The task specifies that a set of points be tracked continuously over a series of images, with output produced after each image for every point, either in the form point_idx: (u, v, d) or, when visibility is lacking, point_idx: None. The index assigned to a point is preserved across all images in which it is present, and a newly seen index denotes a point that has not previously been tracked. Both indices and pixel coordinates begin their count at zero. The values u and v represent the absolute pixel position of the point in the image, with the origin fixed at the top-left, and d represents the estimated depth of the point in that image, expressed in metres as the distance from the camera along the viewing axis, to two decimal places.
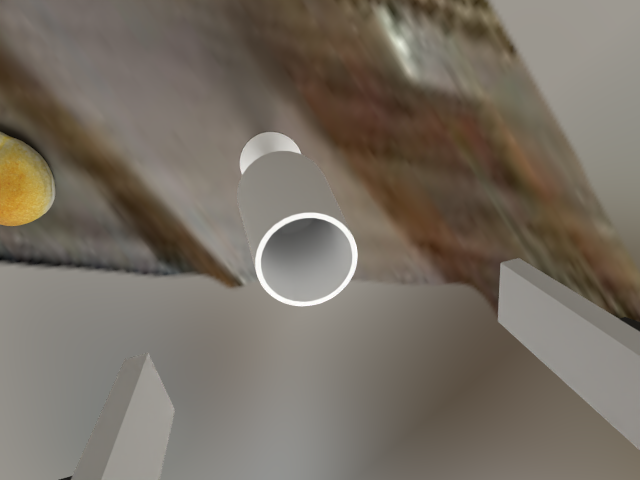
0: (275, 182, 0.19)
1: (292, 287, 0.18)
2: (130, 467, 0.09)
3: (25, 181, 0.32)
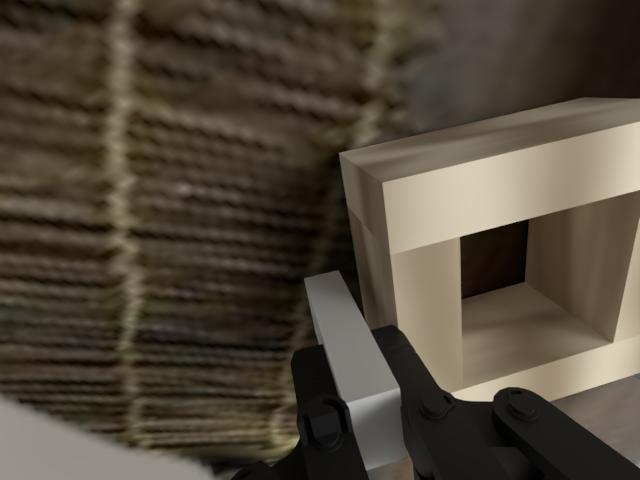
0: None
1: None
2: None
3: None
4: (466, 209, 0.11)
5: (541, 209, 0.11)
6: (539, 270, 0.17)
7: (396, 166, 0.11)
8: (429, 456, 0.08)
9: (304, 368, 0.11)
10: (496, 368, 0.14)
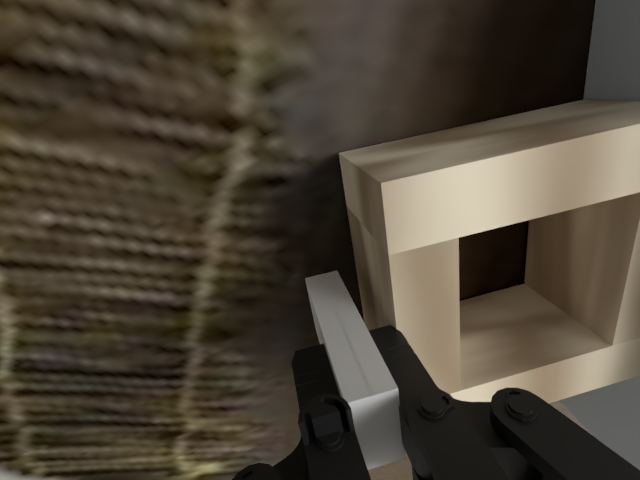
0: None
1: None
2: None
3: None
4: (465, 209, 0.11)
5: (540, 211, 0.11)
6: (539, 272, 0.17)
7: (395, 166, 0.11)
8: (428, 457, 0.08)
9: (305, 368, 0.11)
10: (494, 370, 0.14)
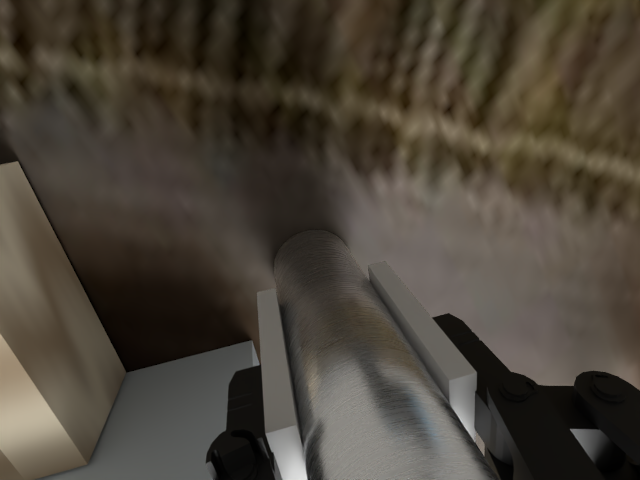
0: None
1: None
2: (289, 364, 0.12)
3: None
4: None
5: None
6: None
7: None
8: (508, 435, 0.08)
9: (241, 390, 0.11)
10: None
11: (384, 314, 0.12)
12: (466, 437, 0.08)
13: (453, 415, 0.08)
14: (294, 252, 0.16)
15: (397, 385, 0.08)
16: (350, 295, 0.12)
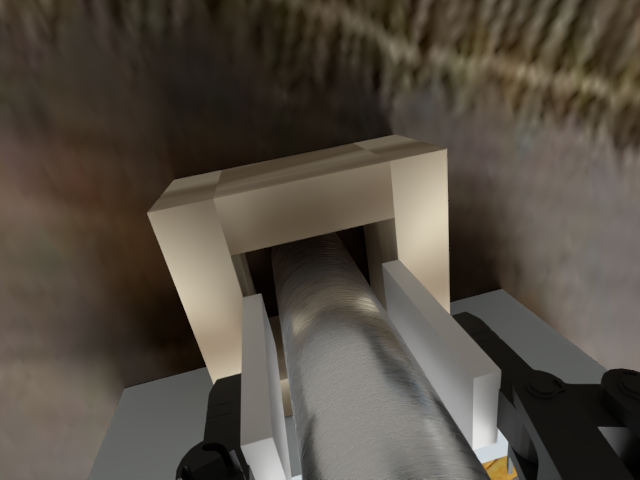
0: None
1: None
2: (272, 371, 0.12)
3: None
4: (415, 218, 0.14)
5: None
6: None
7: None
8: (534, 431, 0.08)
9: (221, 399, 0.10)
10: (242, 288, 0.14)
11: (367, 292, 0.13)
12: (428, 386, 0.09)
13: (419, 370, 0.10)
14: None
15: (371, 345, 0.10)
16: (337, 275, 0.13)
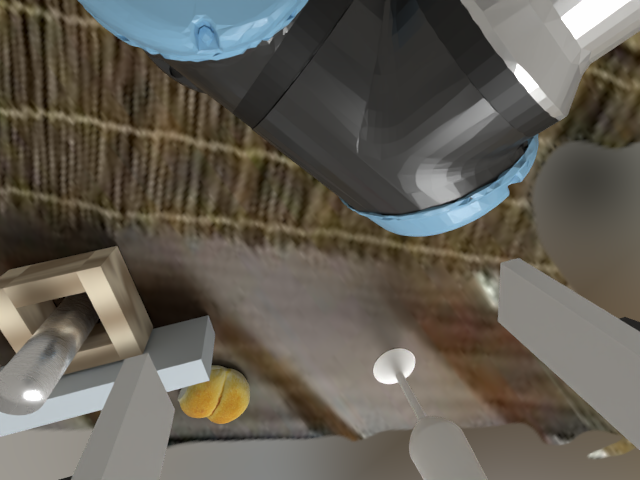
0: None
1: None
2: (130, 467, 0.09)
3: (240, 400, 0.47)
4: (96, 291, 0.35)
5: (99, 314, 0.36)
6: None
7: (108, 268, 0.36)
8: None
9: None
10: (27, 319, 0.35)
11: (66, 324, 0.34)
12: (45, 356, 0.30)
13: (50, 352, 0.30)
14: None
15: (36, 344, 0.31)
16: (58, 317, 0.34)
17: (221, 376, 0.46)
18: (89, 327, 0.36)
